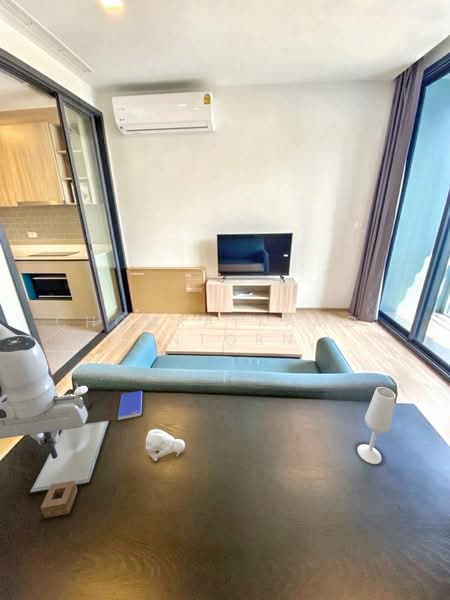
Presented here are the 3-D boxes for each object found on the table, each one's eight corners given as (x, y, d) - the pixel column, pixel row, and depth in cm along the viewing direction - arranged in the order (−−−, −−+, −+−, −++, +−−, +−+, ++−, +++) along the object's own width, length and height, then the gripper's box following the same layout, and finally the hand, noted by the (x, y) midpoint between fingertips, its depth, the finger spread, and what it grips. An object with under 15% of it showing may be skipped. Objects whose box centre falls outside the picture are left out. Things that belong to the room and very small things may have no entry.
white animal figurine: (148, 424, 79) (186, 425, 80) (149, 443, 82) (185, 444, 83) (143, 441, 73) (184, 442, 74) (144, 462, 76) (183, 463, 77)
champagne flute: (385, 455, 78) (403, 393, 70) (376, 468, 74) (394, 405, 66) (363, 440, 83) (377, 381, 75) (353, 452, 79) (367, 391, 71)
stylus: (51, 459, 66) (36, 418, 61) (53, 455, 67) (39, 415, 62) (56, 458, 66) (42, 418, 61) (58, 454, 67) (44, 414, 63)
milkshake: (87, 400, 102) (82, 380, 98) (94, 406, 99) (88, 385, 95) (75, 407, 98) (69, 386, 95) (82, 413, 95) (76, 392, 92)
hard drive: (140, 412, 93) (141, 390, 105) (117, 416, 91) (121, 394, 103) (141, 415, 94) (142, 393, 105) (118, 420, 92) (121, 397, 103)
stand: (44, 518, 63) (40, 508, 62) (55, 494, 68) (51, 484, 67) (69, 513, 64) (65, 503, 63) (77, 490, 69) (74, 480, 68)
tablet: (30, 494, 68) (29, 491, 68) (64, 428, 89) (63, 426, 88) (89, 484, 71) (88, 481, 70) (109, 422, 91) (108, 420, 91)
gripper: (85, 385, 64) (95, 425, 69) (-4, 395, 61) (14, 437, 66) (75, 402, 59) (88, 445, 63) (-23, 415, 56) (-2, 459, 60)
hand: (49, 441), depth 65 cm, fingers closed on stylus, 1 cm apart
